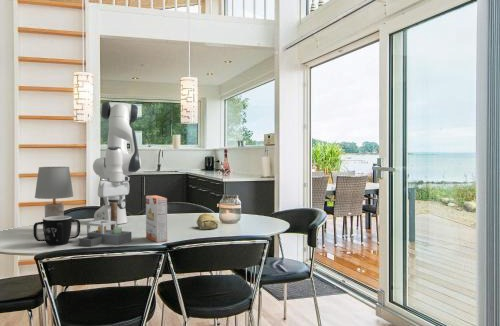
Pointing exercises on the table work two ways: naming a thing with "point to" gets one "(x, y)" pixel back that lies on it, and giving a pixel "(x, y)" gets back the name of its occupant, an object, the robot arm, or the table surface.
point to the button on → (117, 230)
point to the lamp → (53, 188)
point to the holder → (90, 241)
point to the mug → (56, 230)
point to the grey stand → (108, 232)
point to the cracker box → (156, 218)
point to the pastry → (207, 222)
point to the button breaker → (100, 229)
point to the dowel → (113, 212)
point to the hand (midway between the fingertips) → (113, 204)
